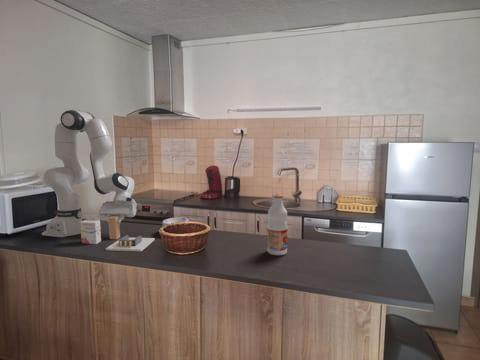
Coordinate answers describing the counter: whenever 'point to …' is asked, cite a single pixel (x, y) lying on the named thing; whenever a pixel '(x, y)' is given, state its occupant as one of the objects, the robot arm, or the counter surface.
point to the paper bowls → (174, 221)
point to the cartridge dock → (130, 244)
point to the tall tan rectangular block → (114, 227)
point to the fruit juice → (277, 227)
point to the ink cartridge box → (91, 230)
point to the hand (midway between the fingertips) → (113, 222)
